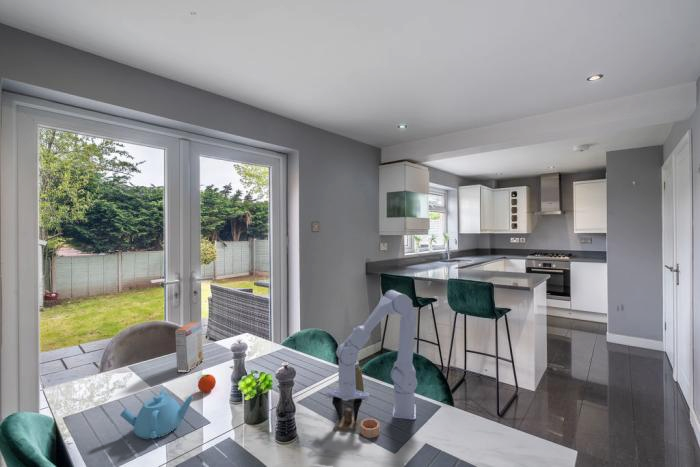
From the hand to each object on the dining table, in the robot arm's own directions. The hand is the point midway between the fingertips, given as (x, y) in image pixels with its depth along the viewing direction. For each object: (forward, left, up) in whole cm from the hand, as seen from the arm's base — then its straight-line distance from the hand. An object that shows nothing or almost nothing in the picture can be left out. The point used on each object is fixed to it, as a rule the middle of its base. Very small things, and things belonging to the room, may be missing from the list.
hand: (348, 419), depth 112 cm
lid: (0, 0, -2) cm, 2 cm away
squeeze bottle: (-18, -2, -2) cm, 18 cm away
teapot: (+12, -65, -2) cm, 66 cm away
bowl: (+3, +8, -2) cm, 9 cm away
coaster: (0, 0, -2) cm, 2 cm away
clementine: (-14, -65, -2) cm, 66 cm away
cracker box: (-34, -89, -2) cm, 95 cm away
